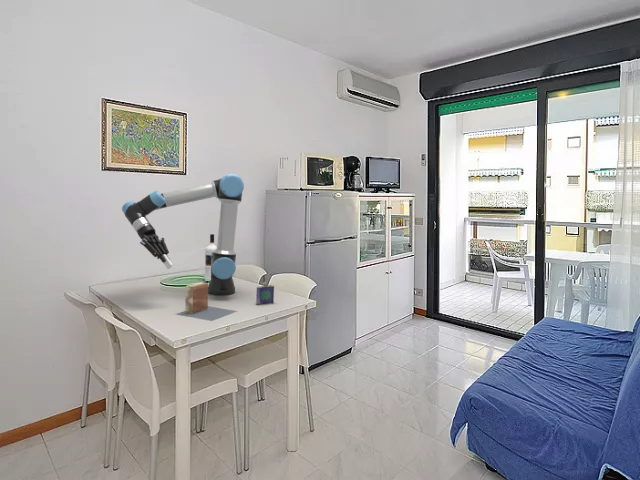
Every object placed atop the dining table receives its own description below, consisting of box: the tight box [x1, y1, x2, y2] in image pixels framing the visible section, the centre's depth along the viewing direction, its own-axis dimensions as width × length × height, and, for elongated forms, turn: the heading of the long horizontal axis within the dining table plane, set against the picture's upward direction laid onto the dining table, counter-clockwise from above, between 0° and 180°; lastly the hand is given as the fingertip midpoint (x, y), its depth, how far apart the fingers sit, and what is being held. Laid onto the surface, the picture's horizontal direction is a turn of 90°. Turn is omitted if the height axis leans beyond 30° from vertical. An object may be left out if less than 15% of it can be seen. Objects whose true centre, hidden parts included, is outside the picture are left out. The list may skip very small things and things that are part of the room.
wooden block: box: [184, 282, 209, 314], centre depth 178 cm, size 4×10×12 cm, turn 156°
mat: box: [176, 305, 238, 322], centre depth 177 cm, size 20×18×1 cm
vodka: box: [203, 233, 217, 279], centre depth 249 cm, size 9×9×30 cm
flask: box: [255, 282, 275, 306], centre depth 198 cm, size 9×3×11 cm, turn 121°
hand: (170, 266), depth 184 cm, fingers closed
